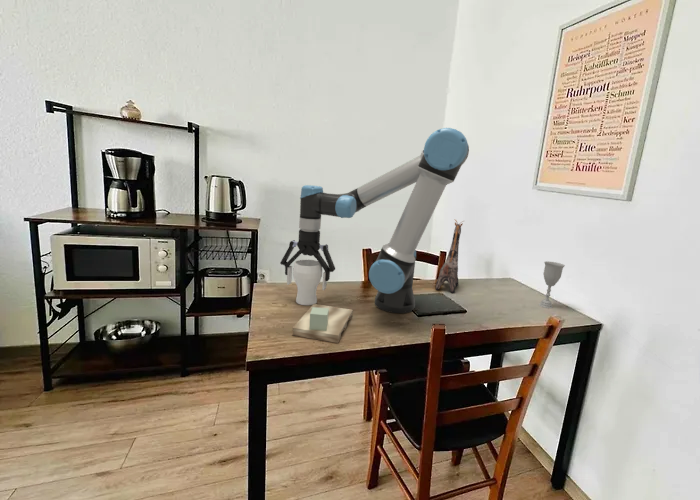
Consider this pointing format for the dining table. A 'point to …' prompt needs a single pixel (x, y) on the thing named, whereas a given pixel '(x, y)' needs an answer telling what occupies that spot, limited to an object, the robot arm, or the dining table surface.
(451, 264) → the toy
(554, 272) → the chalice
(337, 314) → the dock
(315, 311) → the pale green cube
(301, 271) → the cup
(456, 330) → the dining table surface
